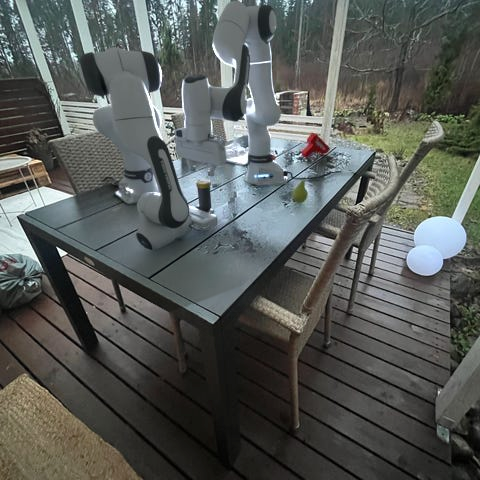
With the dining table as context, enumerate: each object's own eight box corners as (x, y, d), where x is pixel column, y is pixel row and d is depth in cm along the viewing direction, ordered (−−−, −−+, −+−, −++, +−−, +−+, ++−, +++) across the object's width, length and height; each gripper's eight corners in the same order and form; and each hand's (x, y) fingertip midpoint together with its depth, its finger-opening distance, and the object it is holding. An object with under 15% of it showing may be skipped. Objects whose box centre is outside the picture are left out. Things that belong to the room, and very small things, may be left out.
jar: (214, 221, 107) (212, 182, 99) (204, 224, 105) (201, 185, 96) (208, 216, 110) (205, 179, 102) (198, 220, 108) (194, 182, 99)
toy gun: (302, 154, 174) (315, 133, 171) (298, 152, 177) (311, 132, 174) (316, 167, 185) (330, 148, 182) (312, 166, 188) (325, 147, 185)
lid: (213, 186, 99) (213, 181, 98) (201, 189, 97) (200, 185, 96) (205, 182, 103) (205, 177, 102) (193, 185, 100) (193, 181, 99)
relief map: (243, 165, 166) (243, 156, 164) (202, 156, 184) (201, 148, 181) (267, 155, 185) (267, 147, 182) (227, 147, 202) (227, 140, 200)
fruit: (288, 200, 123) (290, 174, 116) (302, 197, 125) (305, 172, 119) (296, 206, 118) (299, 179, 111) (310, 203, 120) (314, 177, 114)
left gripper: (201, 223, 89) (227, 208, 98) (160, 207, 99) (187, 194, 109) (202, 239, 93) (228, 223, 102) (163, 222, 103) (189, 209, 112)
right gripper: (229, 134, 87) (230, 176, 94) (183, 127, 97) (187, 166, 104) (217, 138, 82) (219, 181, 90) (170, 130, 92) (175, 170, 100)
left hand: (207, 208), depth 105 cm, fingers closed on jar, 4 cm apart
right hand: (201, 173), depth 97 cm, fingers open, 7 cm apart
